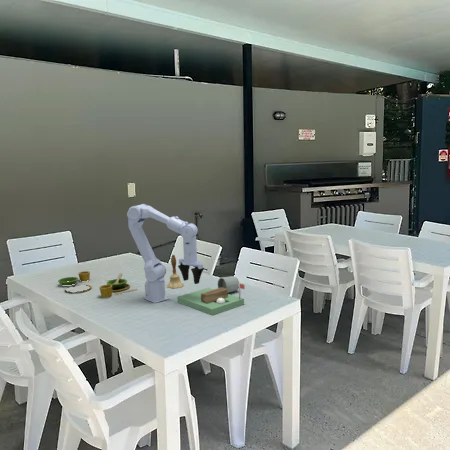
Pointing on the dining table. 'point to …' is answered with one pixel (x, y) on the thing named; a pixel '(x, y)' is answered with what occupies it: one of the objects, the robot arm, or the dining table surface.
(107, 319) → the dining table surface
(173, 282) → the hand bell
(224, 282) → the ceramic mug
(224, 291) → the block
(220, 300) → the golf ball
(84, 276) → the tableware set
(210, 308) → the putting deck
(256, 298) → the dining table surface
